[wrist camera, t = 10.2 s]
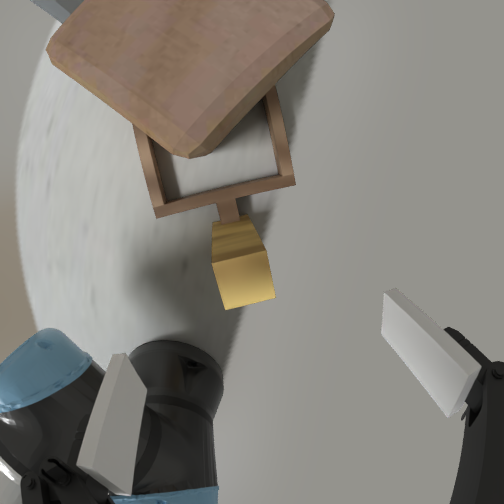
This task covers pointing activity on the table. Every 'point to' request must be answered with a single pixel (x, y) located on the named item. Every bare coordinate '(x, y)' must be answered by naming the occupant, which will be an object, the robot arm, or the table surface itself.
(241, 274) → the pull yoke
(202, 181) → the table surface
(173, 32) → the wooden block
